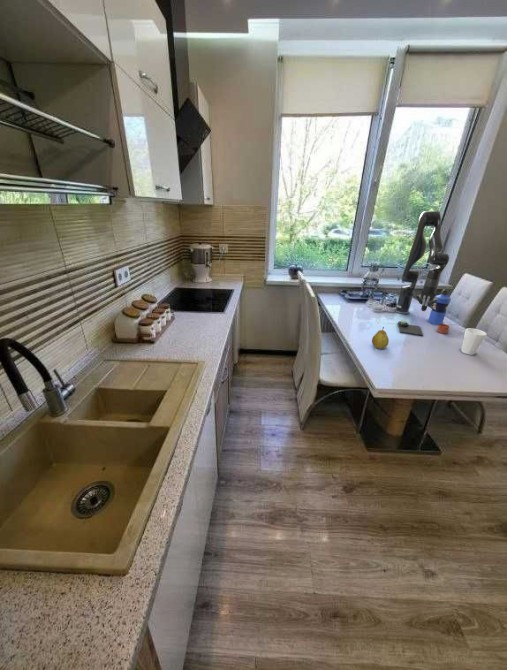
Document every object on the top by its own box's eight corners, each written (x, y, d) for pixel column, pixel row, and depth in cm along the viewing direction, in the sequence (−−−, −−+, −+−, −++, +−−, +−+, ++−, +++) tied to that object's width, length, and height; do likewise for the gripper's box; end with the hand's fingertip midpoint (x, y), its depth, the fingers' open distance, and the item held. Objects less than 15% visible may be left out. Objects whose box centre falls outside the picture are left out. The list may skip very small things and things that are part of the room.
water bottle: (428, 323, 198) (439, 289, 188) (426, 319, 206) (437, 286, 196) (443, 325, 195) (455, 291, 185) (441, 321, 203) (452, 288, 192)
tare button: (400, 322, 193) (400, 320, 193) (405, 323, 192) (406, 321, 191) (400, 324, 190) (401, 321, 189) (406, 324, 189) (407, 322, 188)
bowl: (435, 329, 188) (438, 323, 186) (446, 331, 186) (448, 324, 184) (437, 333, 183) (440, 326, 180) (448, 334, 181) (450, 327, 178)
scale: (397, 323, 196) (397, 320, 195) (418, 327, 191) (419, 323, 190) (398, 332, 182) (399, 328, 181) (422, 336, 178) (423, 332, 176)
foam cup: (474, 350, 161) (482, 329, 156) (480, 357, 153) (489, 336, 148) (455, 347, 164) (463, 327, 159) (460, 354, 156) (469, 333, 151)
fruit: (380, 351, 156) (385, 332, 151) (367, 345, 163) (371, 326, 158) (390, 348, 160) (395, 329, 155) (377, 342, 167) (381, 324, 162)
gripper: (444, 286, 174) (436, 312, 181) (421, 282, 183) (414, 307, 190) (441, 288, 169) (432, 314, 177) (417, 284, 178) (410, 309, 185)
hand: (423, 310), depth 183 cm, fingers closed
